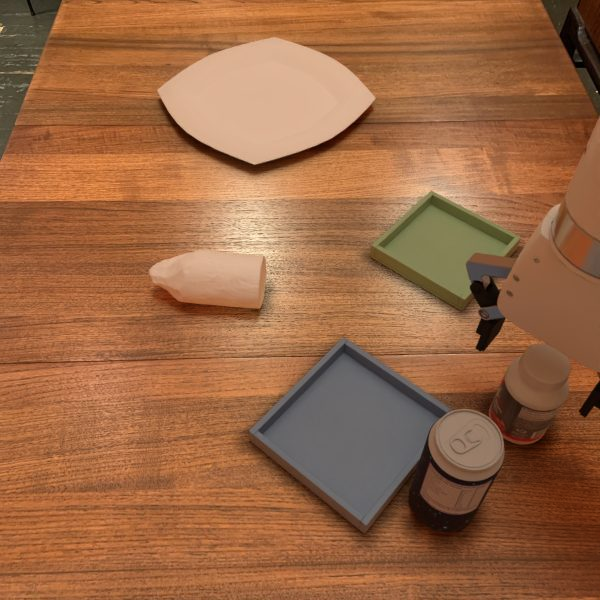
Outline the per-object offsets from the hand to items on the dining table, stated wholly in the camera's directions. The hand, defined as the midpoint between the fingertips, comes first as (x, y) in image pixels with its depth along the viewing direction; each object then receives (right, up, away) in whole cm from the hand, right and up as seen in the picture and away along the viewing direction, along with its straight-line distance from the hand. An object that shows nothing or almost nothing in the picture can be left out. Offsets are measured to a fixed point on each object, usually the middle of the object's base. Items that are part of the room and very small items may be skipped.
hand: (536, 371), depth 56 cm
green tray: (-4, +12, +19) cm, 23 cm away
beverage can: (-8, -12, +1) cm, 14 cm away
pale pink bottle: (-30, +7, +15) cm, 35 cm away
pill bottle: (0, -5, +6) cm, 8 cm away
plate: (-25, +34, +38) cm, 57 cm away
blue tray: (-15, -6, +5) cm, 17 cm away
